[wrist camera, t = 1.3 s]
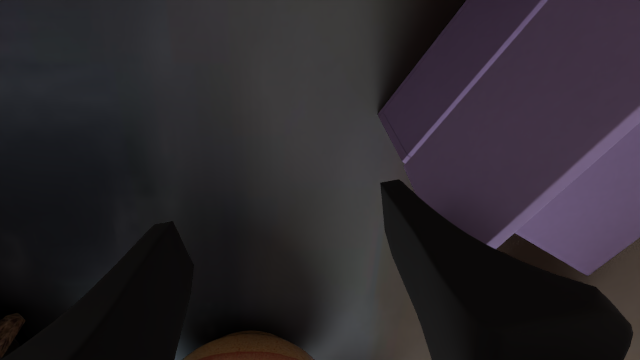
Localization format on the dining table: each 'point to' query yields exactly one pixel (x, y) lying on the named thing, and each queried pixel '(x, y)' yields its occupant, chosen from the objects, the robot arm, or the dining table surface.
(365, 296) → the dining table surface
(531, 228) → the storage box
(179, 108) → the dining table surface
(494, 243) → the flap
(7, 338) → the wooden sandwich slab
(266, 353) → the vase
